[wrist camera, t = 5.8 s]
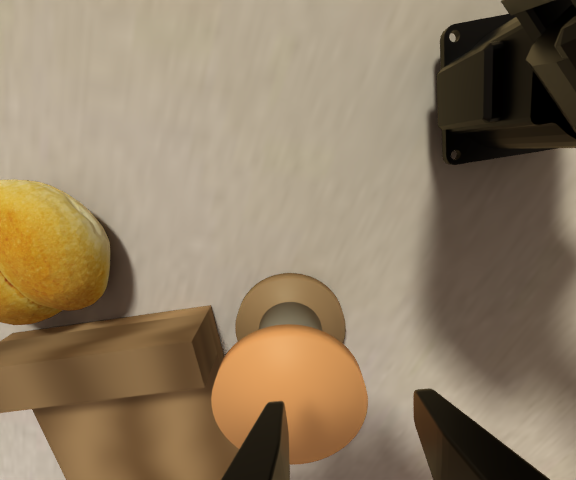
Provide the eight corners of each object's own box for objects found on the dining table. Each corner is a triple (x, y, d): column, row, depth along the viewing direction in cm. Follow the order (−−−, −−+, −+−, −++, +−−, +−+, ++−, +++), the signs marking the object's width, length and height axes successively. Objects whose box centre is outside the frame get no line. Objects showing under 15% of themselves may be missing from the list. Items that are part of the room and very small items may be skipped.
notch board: (210, 305, 20) (191, 341, 16) (260, 500, 25) (255, 564, 21) (12, 333, 21) (-50, 373, 17) (98, 517, 26) (64, 580, 22)
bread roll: (141, 283, 19) (100, 319, 15) (24, 319, 21) (-40, 359, 17) (74, 155, 17) (7, 159, 13) (-53, 203, 18) (-147, 220, 14)
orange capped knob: (336, 265, 19) (360, 327, 13) (348, 359, 21) (374, 456, 14) (228, 281, 20) (194, 348, 13) (249, 371, 22) (229, 471, 15)
